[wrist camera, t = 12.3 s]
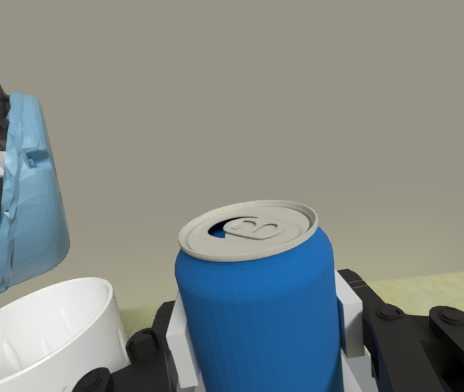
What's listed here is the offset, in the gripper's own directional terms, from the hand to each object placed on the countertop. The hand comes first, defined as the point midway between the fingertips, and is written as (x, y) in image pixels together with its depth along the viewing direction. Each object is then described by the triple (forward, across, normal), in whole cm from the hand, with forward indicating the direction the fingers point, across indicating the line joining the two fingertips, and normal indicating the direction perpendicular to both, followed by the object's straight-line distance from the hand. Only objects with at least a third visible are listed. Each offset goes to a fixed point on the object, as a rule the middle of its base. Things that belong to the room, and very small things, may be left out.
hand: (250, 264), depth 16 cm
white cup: (-3, -12, -9) cm, 16 cm away
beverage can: (-5, 0, -7) cm, 9 cm away
